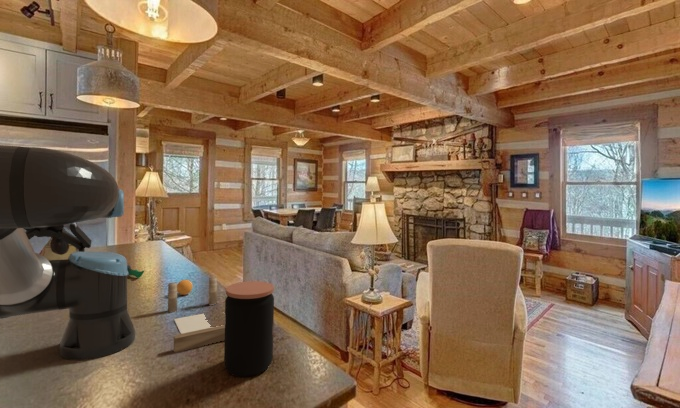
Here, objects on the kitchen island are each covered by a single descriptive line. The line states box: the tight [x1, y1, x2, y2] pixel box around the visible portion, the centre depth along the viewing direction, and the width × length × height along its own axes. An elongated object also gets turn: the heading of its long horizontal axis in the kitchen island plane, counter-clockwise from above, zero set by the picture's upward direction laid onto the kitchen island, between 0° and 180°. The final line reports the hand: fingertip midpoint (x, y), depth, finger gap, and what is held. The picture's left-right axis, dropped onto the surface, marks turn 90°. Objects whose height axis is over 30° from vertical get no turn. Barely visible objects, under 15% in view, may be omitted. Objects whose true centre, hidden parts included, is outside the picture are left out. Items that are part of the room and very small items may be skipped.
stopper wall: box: [173, 325, 225, 354], centre depth 85 cm, size 2×20×4 cm, turn 125°
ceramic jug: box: [38, 232, 76, 260], centre depth 120 cm, size 17×15×30 cm
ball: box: [177, 279, 194, 296], centre depth 122 cm, size 6×6×6 cm
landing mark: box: [173, 313, 212, 334], centre depth 97 cm, size 14×14×1 cm
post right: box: [208, 276, 218, 305], centre depth 112 cm, size 3×3×9 cm
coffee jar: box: [223, 280, 275, 378], centre depth 74 cm, size 11×11×18 cm
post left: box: [167, 282, 178, 313], centre depth 105 cm, size 3×3×9 cm
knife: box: [127, 264, 145, 279], centre depth 144 cm, size 20×2×5 cm, turn 61°
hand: (50, 264), depth 97 cm, fingers open, 13 cm apart
